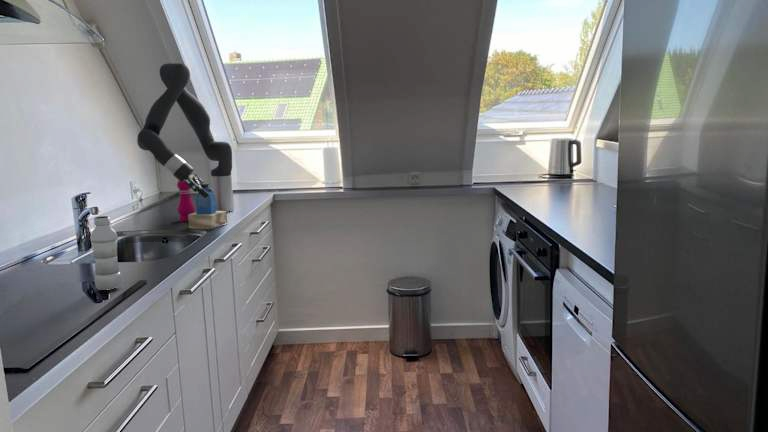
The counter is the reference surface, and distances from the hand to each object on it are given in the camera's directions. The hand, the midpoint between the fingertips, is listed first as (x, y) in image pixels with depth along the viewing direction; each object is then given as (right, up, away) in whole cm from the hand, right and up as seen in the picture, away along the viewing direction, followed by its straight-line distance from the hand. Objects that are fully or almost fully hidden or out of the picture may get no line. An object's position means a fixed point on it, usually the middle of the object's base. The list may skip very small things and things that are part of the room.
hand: (209, 195), depth 232 cm
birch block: (-1, -13, +2) cm, 14 cm away
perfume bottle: (-2, -8, +1) cm, 8 cm away
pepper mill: (-15, -11, +16) cm, 24 cm away
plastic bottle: (-2, -29, -81) cm, 86 cm away
